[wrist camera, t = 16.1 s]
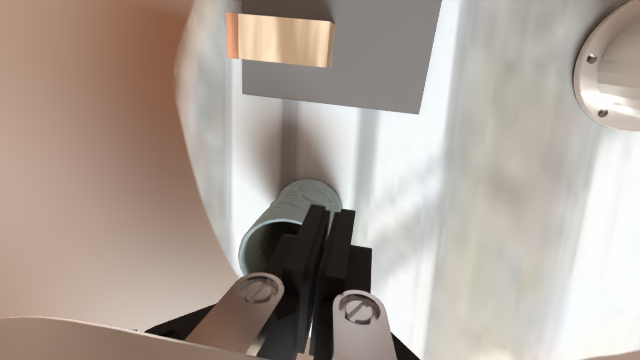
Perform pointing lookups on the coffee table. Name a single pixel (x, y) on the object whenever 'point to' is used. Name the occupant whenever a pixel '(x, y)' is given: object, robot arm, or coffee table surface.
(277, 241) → the grey-green cup
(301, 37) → the maple block
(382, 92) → the mat
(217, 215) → the coffee table surface
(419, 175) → the coffee table surface
